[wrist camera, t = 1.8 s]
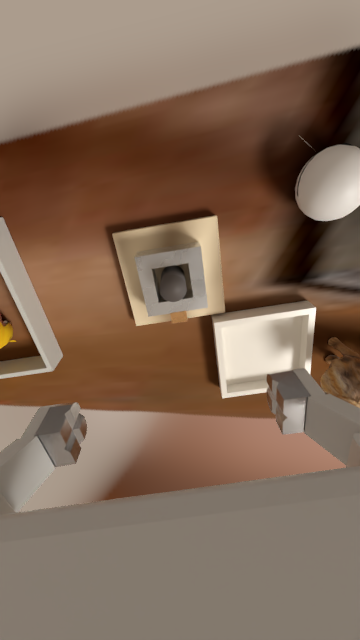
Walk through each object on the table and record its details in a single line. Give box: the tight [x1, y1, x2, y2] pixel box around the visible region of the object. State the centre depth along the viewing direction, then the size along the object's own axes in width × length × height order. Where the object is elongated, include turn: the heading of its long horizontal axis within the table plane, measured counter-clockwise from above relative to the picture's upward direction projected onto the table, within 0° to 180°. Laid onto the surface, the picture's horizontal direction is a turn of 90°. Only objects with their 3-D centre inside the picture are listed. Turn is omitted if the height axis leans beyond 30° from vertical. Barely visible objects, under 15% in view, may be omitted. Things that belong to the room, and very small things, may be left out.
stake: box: [112, 215, 225, 326], centre depth 25 cm, size 10×10×5 cm
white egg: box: [295, 135, 360, 221], centre depth 21 cm, size 8×6×6 cm
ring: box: [134, 242, 208, 324], centre depth 25 cm, size 6×7×2 cm
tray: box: [212, 300, 316, 398], centre depth 31 cm, size 11×11×2 cm
